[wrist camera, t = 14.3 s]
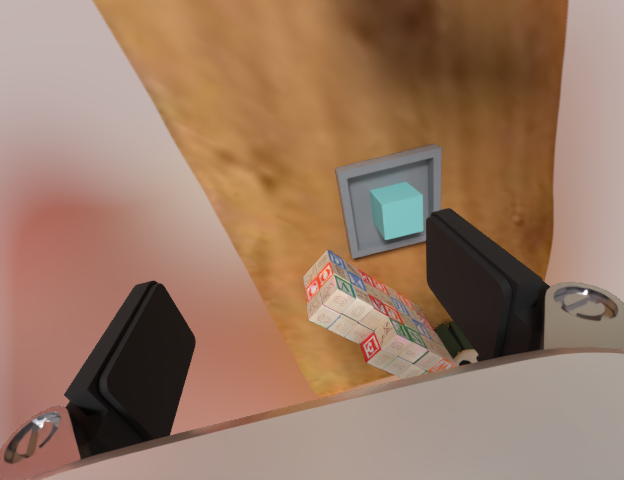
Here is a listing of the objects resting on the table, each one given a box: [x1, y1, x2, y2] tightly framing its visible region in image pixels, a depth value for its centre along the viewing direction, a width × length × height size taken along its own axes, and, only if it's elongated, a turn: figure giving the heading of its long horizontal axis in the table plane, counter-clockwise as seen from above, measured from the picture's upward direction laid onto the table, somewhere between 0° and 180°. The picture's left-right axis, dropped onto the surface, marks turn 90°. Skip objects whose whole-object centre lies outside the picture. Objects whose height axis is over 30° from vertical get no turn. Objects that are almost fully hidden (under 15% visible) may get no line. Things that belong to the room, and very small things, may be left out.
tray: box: [335, 144, 442, 259], centre depth 40 cm, size 13×13×2 cm
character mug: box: [435, 322, 483, 368], centre depth 50 cm, size 11×7×13 cm, turn 109°
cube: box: [370, 182, 423, 240], centre depth 38 cm, size 5×5×5 cm
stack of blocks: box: [303, 250, 456, 379], centre depth 43 cm, size 21×6×12 cm, turn 52°
